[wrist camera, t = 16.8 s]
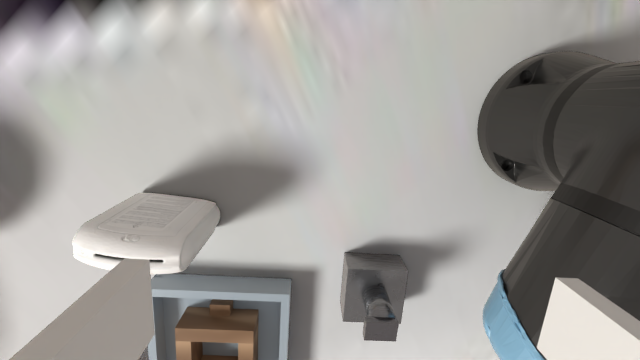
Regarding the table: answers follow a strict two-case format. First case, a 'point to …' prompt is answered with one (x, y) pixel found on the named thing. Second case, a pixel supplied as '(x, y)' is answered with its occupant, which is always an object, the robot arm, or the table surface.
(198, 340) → the walnut ring
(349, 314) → the metal stake
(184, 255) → the photo printer
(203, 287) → the slate tray
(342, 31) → the table surface
